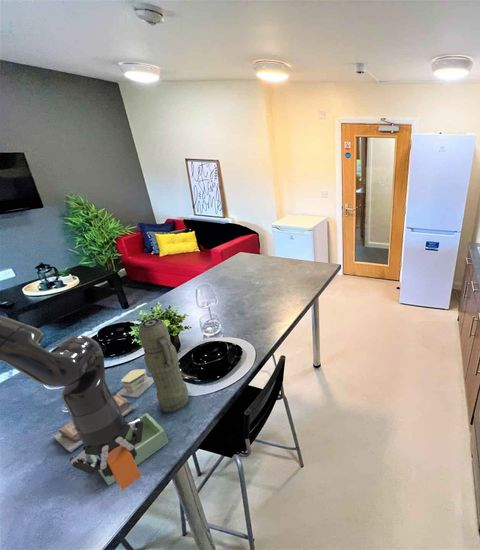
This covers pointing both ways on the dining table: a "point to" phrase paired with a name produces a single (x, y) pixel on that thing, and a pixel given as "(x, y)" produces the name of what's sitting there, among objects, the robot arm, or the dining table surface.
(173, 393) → the thermos
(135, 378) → the stacked layers on plate
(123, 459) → the block
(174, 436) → the dining table surface
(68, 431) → the packaged product
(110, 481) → the bin
